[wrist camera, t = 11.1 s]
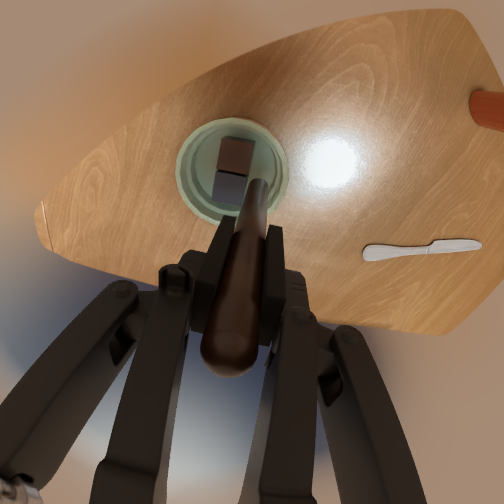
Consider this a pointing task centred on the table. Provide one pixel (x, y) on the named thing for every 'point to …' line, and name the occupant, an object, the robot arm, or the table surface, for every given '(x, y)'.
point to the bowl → (204, 167)
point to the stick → (239, 292)
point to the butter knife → (418, 249)
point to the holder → (488, 109)
